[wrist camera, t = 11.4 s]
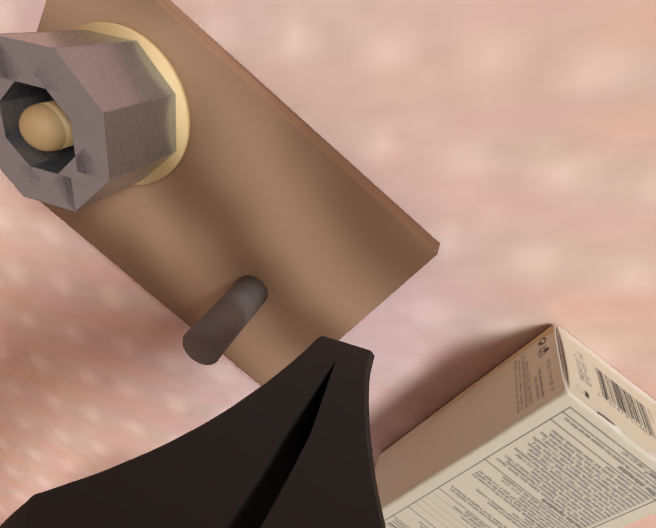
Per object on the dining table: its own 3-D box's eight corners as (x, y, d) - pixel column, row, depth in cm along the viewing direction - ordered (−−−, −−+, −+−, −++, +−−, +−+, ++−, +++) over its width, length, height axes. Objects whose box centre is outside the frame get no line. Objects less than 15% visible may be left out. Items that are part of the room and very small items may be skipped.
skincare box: (556, 318, 19) (376, 446, 26) (570, 393, 16) (355, 520, 22) (672, 412, 20) (464, 515, 26) (711, 507, 16) (458, 599, 23)
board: (281, 383, 26) (230, 470, 21) (13, 159, 24) (-108, 196, 19) (439, 243, 19) (420, 322, 15) (89, -72, 18) (-63, -103, 13)
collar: (176, 188, 20) (113, 223, 17) (68, 158, 21) (-12, 185, 18) (175, 48, 18) (98, 57, 14) (50, 22, 19) (-48, 24, 15)
